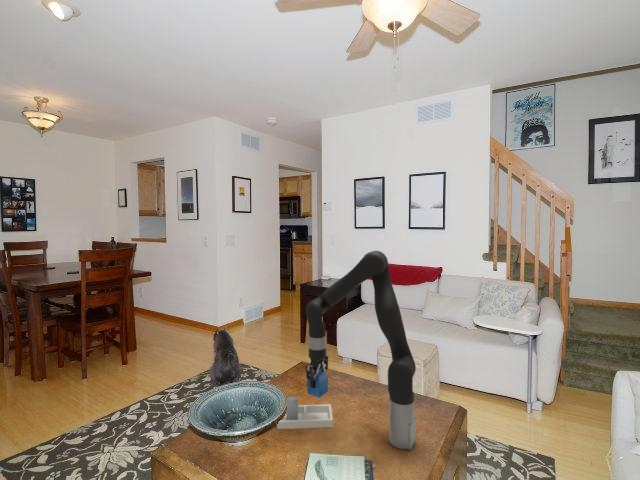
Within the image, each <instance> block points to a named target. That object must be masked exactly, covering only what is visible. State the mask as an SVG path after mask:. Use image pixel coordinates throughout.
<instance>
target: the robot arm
mask: <svg viewBox="0 0 640 480" xmlns="http://www.w3.org/2000/svg"><path fill="white" fill-rule="evenodd" d="M369 279H371V281H372V285H373V290H374V293H373V294H374V297H373V298H374V310H375V314H376V315H375V316H376V318H377V323H378V326H379V328H380V330H381V332H382V334H383V335H384V337H385V339H386V340H387V342H388V346H389V348H390V353H391V360H392V361H391V363H390V364H389V365H388V368H387V390H388V394H389V422H388V423H389V424H388V425H389V426H388V427H389V432H388V433H389V435H388V436H389V437H388V439H389V443H390V444H391V445H392V446H393V447H394V448H396V449H399V450H409V451H412V450H413V449H412V448H413V447H414V445H415V443H416V431H417V430H416V429H417V426H416V424H417V421H416V420H417V419H416V417H415V392H414V391H413V388H414V387H413V380H414V376H415V374H416V369H417V367H416V362H415V360H414V357H413V354H412V352H411V349H410V346H409V343H408V341H407V335H406V330H405V326H404V321H403V317H402V314H401V310H400V306H399V303H398V300H397V295H396V293H395V290H394V287H393V283H392V279H391V272H390V265H389V261H388V258H387V256H386V254H385V253H383V252H382V251H380V250H373V251H370V252H367V253H365V255H364V256H363V257H362V258H361V259H360V261H359V262H357V264H356V265H355V266H354V267H352V269H351V270H350V271H349V272H347V273H346V274H345V275H344V276H342V277H341V278H340V279H338V280H336V281H335V282H334V283H333V284H331V285H329V287H328V288H327V289H325V290H324V291H323V293H321V294H320V295H319V296H317V297H316V298H314V299H312V300H311V301H309V302H308V303H307V305H306V306H305V314H306V319H307V324H308V340H307V341H308V358H309V359H310V364H308V365H305V371H306V372H305V373H306V379H309V380H310V386H311V388H316V375H317V374H318V371H319V368H320V365H321V368H322V370H321V372H324V373H325V374H326V371H328V369H329V356H328V355H327V337H326V323H325V322H324V321H323V318H322V317H323V315H324V314H325V313H326V312H327V311H329V310H330V309H331V308H332V307H333V306H334V305H336V304H337V303H339V302H341V301H342V300H343V299H345V298H346V297H347V296H348V295H349V294H350V293H352V291H354V289H355V288H357V287H358V286H359V285H360V284H362V283H363V282H365V281H367V280H369ZM314 370H315V371H316V372H314ZM313 373H314V377H313Z"/></svg>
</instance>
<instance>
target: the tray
mask: <svg viewBox="0 0 640 480" xmlns="http://www.w3.org/2000/svg"><path fill="white" fill-rule="evenodd" d="M318 428H319V429H320V428H321V429H323V428H334V419H333V412H332V404H331V403H329V404H303V405H302V404H298V420H286V414H285V416H284V418H283V419H282V420H280V421H279V422H278V424H277V423H276V430H293V429H294V430H295V429H318Z"/></svg>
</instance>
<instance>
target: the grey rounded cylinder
mask: <svg viewBox="0 0 640 480" xmlns="http://www.w3.org/2000/svg"><path fill="white" fill-rule="evenodd" d="M286 399H287V410H286V420H298V405H299V398H298V397H297V396H294V395H292V396H288V397H287V398H286Z"/></svg>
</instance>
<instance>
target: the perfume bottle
mask: <svg viewBox="0 0 640 480" xmlns="http://www.w3.org/2000/svg"><path fill="white" fill-rule="evenodd" d="M321 370H322V368H321V365H320V368H319V371H318V374H317V375H316V388H311V386H310V380H309V379H307V378H306V379H307V385H306V386H307V394H308V395H310V396H313V397H315V398H318V399H320V398H321V397H323V396H324V395H325V394H327V393H328V391H329V381H328V380H329V378H328V376H327V375H326V372H325V373H324V372H321ZM313 371H314V372H316V371H315V370H313ZM313 377H314V373H313Z"/></svg>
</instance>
